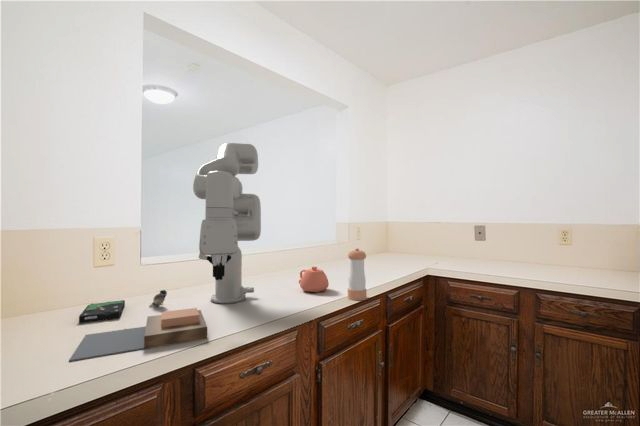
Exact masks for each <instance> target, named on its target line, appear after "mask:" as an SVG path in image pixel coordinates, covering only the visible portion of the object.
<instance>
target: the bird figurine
mask: <svg viewBox="0 0 640 426" xmlns="http://www.w3.org/2000/svg"><path fill="white" fill-rule="evenodd" d="M167 294H168V291H167V290H165V289H163V290H160V291H159V293H157V294H155V296H154V297H153V299H152V300H153V301H152V303H150V304H149V305H148V307H149V308H158V307H159V306H163V305H165V304H164V301H165V298H166V296H167Z"/></svg>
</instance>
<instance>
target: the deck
mask: <svg viewBox="0 0 640 426" xmlns="http://www.w3.org/2000/svg"><path fill="white" fill-rule="evenodd" d="M197 310H198V309H197ZM198 313H199V322H197V323H190V324H183V325H176V326H169V327H162V328H161V314H157V315H156V314H155V315H149V316H147V318H146V325H145V326H146V329H145V336H144V349H143V350H145V349H147V350H148V349H153V348H156V347H157V348H158V347H166V346H170V345H177V344H181V343H188V342H194V341H199V340H200V341H201V340H205V339H208V325H207V323H206V322H207V321H206V320H205V317H204V315H203V313H202V309H199V310H198Z"/></svg>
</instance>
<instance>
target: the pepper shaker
mask: <svg viewBox="0 0 640 426" xmlns="http://www.w3.org/2000/svg"><path fill="white" fill-rule="evenodd" d="M347 257H348V259H349V275H348V287H347V300H348V299H349V300H352V301H364V300H367V288H366V283H367V282H366V275H365V259H366V258H367V254H366V252H365V251H363V250H360V249H359V248H355V249H354V250H350V251H349V252H348V253H347Z"/></svg>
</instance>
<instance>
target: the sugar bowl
mask: <svg viewBox="0 0 640 426" xmlns="http://www.w3.org/2000/svg"><path fill="white" fill-rule="evenodd" d="M298 283H299V287H300V288H301V289H302V290H303V291H304V292H306V291H307V292H313V293H314V292H318V293H319V292H323V291H326V290H327V289H328V287H329V279H328V277H327V275H326V273H325V271H324V270H323V269H320V268H319V269H318V266H311V268H309V269H302V270H300V272H299V280H298Z"/></svg>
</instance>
